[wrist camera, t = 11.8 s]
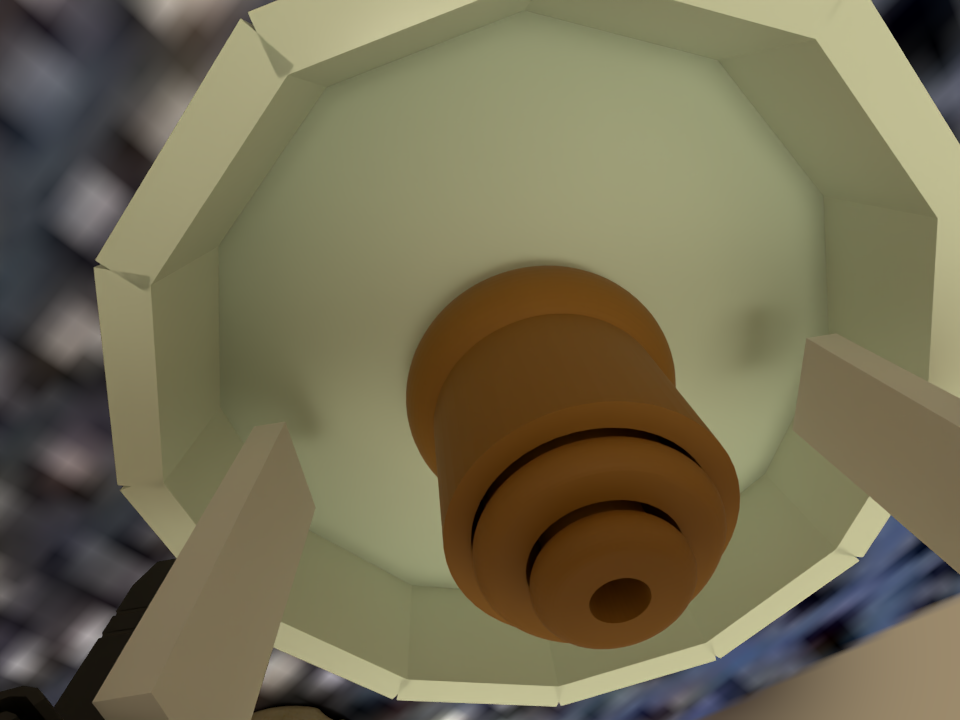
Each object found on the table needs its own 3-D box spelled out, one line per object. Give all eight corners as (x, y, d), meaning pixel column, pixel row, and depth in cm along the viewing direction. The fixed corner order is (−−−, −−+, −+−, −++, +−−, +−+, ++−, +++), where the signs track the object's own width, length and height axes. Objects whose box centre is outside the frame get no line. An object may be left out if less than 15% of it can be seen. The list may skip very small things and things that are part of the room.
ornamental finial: (562, 197, 13) (696, 387, 16) (354, 367, 15) (509, 514, 18) (717, 286, 6) (909, 602, 9) (281, 599, 8) (563, 785, 10)
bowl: (72, 406, 16) (-53, 505, 12) (508, -263, 10) (557, -508, 6) (536, 653, 22) (558, 771, 18) (948, 322, 17) (1108, 385, 13)
